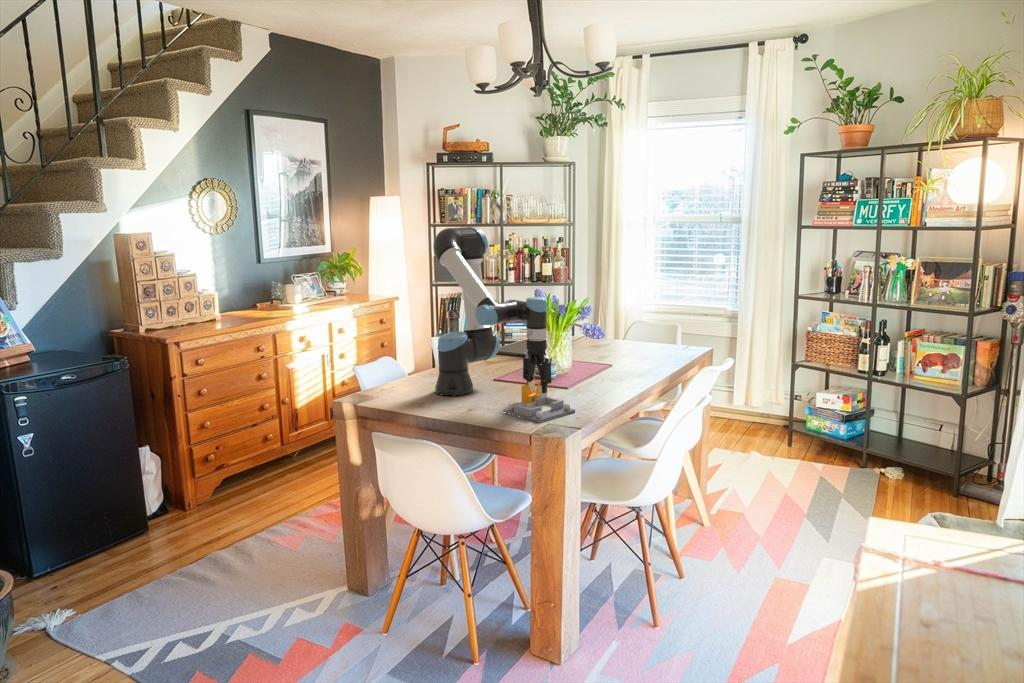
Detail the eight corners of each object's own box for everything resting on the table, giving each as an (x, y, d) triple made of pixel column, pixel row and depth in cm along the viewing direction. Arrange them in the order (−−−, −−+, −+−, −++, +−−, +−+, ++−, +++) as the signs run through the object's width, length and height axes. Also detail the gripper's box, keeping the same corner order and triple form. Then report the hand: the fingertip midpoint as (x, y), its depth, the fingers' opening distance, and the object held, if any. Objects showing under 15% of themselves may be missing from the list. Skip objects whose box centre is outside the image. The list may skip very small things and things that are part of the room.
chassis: (503, 412, 258) (503, 403, 257) (539, 403, 270) (539, 393, 269) (539, 423, 245) (538, 413, 244) (575, 412, 257) (575, 402, 256)
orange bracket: (530, 404, 268) (530, 387, 266) (521, 402, 270) (521, 386, 269) (550, 397, 277) (550, 381, 275) (541, 396, 279) (541, 379, 278)
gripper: (512, 337, 273) (513, 397, 278) (547, 343, 260) (547, 406, 264) (526, 334, 278) (527, 393, 283) (561, 340, 265) (561, 402, 269)
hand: (537, 399), depth 273 cm, fingers open, 5 cm apart
